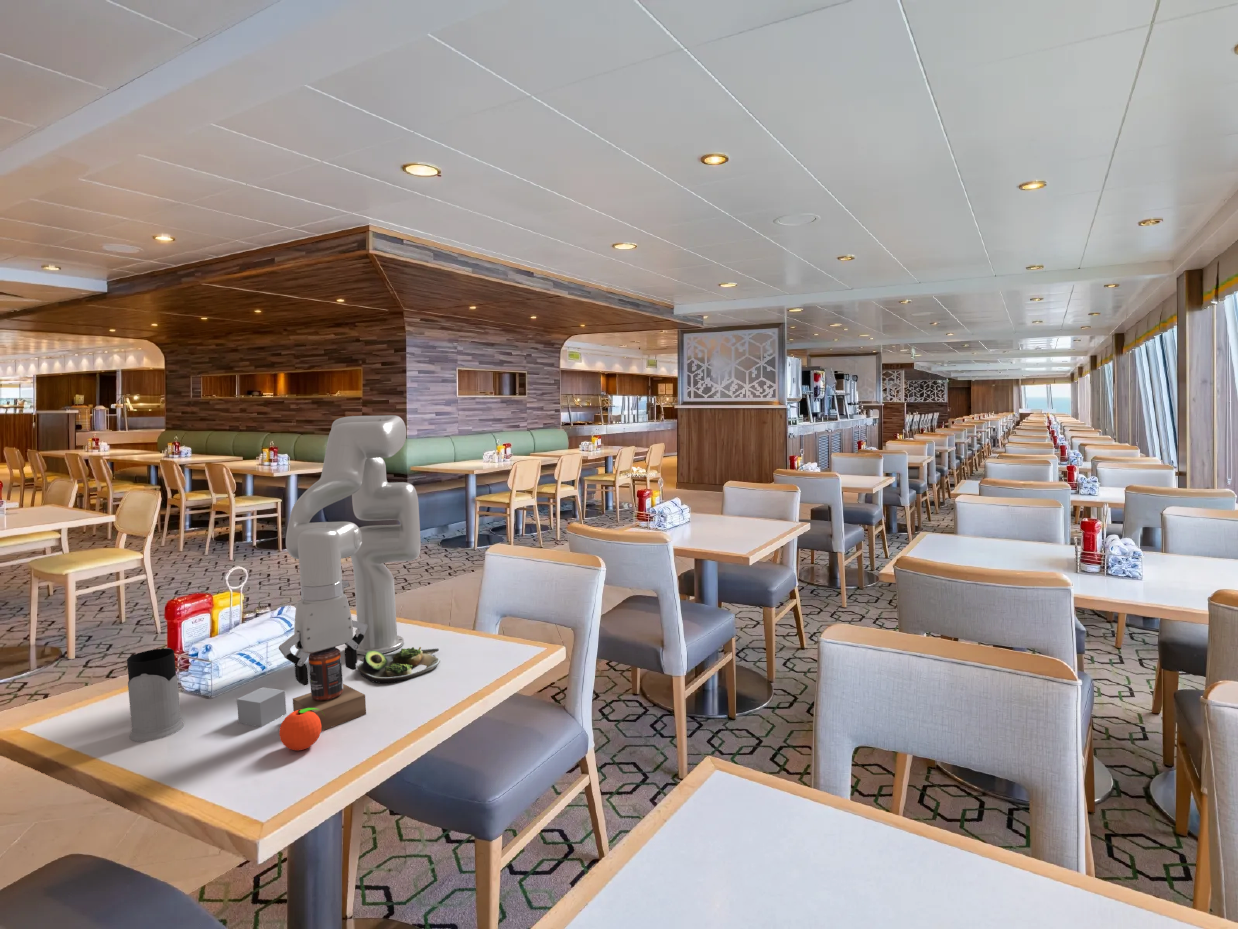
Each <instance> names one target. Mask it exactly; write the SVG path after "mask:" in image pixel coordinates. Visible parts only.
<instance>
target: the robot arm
mask: <svg viewBox="0 0 1238 929" xmlns="http://www.w3.org/2000/svg"><path fill="white" fill-rule="evenodd" d="M327 438H328V439H327V444H326V449H325V452H324V453H325V454H324V460H323V465H322V469H321V475H320V477H319V479H318V480H317V481H316V482H314V483H313V484H312V485H311V486H310V487H309V488H307V489H306V490H305V491H304V492H303V493H302V495H300V497H299V498H298V499H297V500H296V502H294V504H293V506H292V508H291V510H290V516H289V520H288V524H287V529H286V534H285V547H286V551H287V553H288V554H289V556H290V557H291V558H293V559H296V560H298V564H299V566H298V568H299V582H300V597H301V599H300V600H297V602H296V607H295V612H294V613H295V614H294V627H293V628H294V629H293V632H294V633H293V635H292V636H290V637H289V638H288V639H286V640H285V641H283V642H282V643H280V645H279V646H278V650H279V651H280V652H281V654H282V655H283V657H284V658H285V659H286V660H288V661H290V662H291V663H293V664H294V674H295V680H296V681H297V682H298V683H299V684H300V685H302V686H308V684H309V671H308V670H309V669H308V665H307V664H306V661H307V660H308V659H309V655H310V653H315V652H319V651H322V650H326V649H330V648H333V647H336V648H337V647H339V646H342V645H345V646H346V647H345V648H344V665H345V666H344V667H345V668H347V669H349V670H351V671H355V670H357V664H358V655H363V656H365V654H366V653H367V652H368V651H378V652H380V653H382V654H386V653H390V652H393V651H396V650H398V649H401V647H402V646H403V645H404V644H405V642H404V641H405V640H404V638H403V637H402V636H401V635H398V630H397V629H398V627H397V613H396V612H397V609H396V592H395V579H394V576H393V573H392V572H391V570H390V569H389V568H388V567H387V566H386V563H402V562H412V561H414V560H416V559H417V558H418V557H419V555H420V552H421V546H422V545H421V544H422V543H421V542H422V541H421V524H420V523H421V522H420V504H419V497H418V493H417V490H416V488H415V486H414V485H413V484H411V483H409V482H404V481H402V482H398V481H396V482H388V480H387V479H388V478H387V466H386V462H385V460H384V458H385V459H387V458H391V457H393V456H395V455H396V454H397V453H398V452H399V451H400V450H401V449H402V448H403V446H405V443H406V439H407V427H406V423H405V422H404V420H403V418H401V417H400V416H399V415H395V414H394V415H392V414H391V415H351V416H345V417H344V416H343V417H340V418H337V419H335V420H334V421H333V422H332V424H331V430H330V431H329V434H328V437H327ZM348 497H351V501H352V510H353V514H354V516H355V517H356V519H358V520H360V521H369V522H370V521H373V522H374V521H393V520H394V521H398V522H399V524H388V525H387V524H383V525H382V524H380V525H365V526H361V527H359V526H358V525H357V524H356V523H354V522H351V521H320V522H319V521H318V522H311V520H312V518H313V517H314V516H315V515H316V514H317V513H318V512H319V511H321V510H322V509H324V508H326V507H328V506H330V505H332V504H334V503H336V502H339V501H342V500H343V499H346V498H348ZM346 558H350V560H351V564H352V570H353V578H354V594H355V595H354V596H355V610H356V620H353V618H352V613H351V608H350V604H349V600H348V597H347V594H346V593H344V592H345V590H344V589H345V588H348V587H349V586H350V585H349V580H344V579H343V575H342V574H343V573H342V572H343V571H342V559H346ZM354 628H355V634H354ZM292 647H294V648H295V649H296V650H297V651H296V652H295V654H293V652H292V651H291V649H292Z"/></svg>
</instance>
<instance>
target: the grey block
mask: <svg viewBox="0 0 1238 929" xmlns="http://www.w3.org/2000/svg"><path fill="white" fill-rule="evenodd" d="M286 703H287V702H286V691H285V690H284V689H283V690H282V689H276V688H272V687H271V688H269V687H263V686H262V687H260V688H257V689H255V690H254V691H251V692H249V693H246V694H245V695H243V696H240V697H238V698H237V699H236V704H237V706H236V707H237V717H238V718H237V719H238V720H237V722H238V724H242V725H248V726H253V727H259V728H262V727H265V726H266V725H268V724H270V723H272V722H275V721H276V720H278V719H280V718H281V716H282V715H283V716H286V715H287V704H286ZM283 716H282V717H283ZM275 719H276V720H275Z"/></svg>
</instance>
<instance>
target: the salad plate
mask: <svg viewBox="0 0 1238 929" xmlns="http://www.w3.org/2000/svg"><path fill="white" fill-rule="evenodd" d="M439 650H440V648H437V647H436V648H428V649H427V648H426V649H422V647H421V646H419V647H418V649H416V648H415V647H414V646H413V647H411V648H410V647H408V648H400V650H398V651H395V652H391V653H388V654H384V653H380V652H378V651H368V652H367V653H366V654H365V655H363V657H361V658H360V659H359V661H360V663H359V664H358V666H357V670H358V671H359V673H360V675H361V676H362V677H364V679H367V680H368V681H369V682H372V683H376V684H394V683H399V682H403V681H407V680H410V679H412V678H414V677H418V676H421V675H424V674H426V673H427V672H430V671H432V670H434V669H435V668H436V667H438V666H439V664H440V663H441V659H440V658H439V657H436V656H433V654H435V653H436V652H439ZM418 666H426V667H425V668H424V669H421V670H419V671H415V672H412V669H413V668H415V667H418Z"/></svg>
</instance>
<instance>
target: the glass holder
mask: <svg viewBox="0 0 1238 929" xmlns="http://www.w3.org/2000/svg"><path fill="white" fill-rule="evenodd" d="M126 663H127V666H126V667H127V673H128V674H127V675H128V682H127V688H128V689H127V690H128V700H129V710H130V713H129V714H130V723H131V732H130V734H129V739H130V740H131V741H133V742H149V741H151V742H152V741H156V740H159V739H163V738H166V737H169V736H171V735H174V734H176V733H177V732H179V731H180V730H182V729H183V727H185V722H184V721H183V719H182V717H181V706H180V693H179V683H178V681H179V679H178V674H177V671H176V656H175V650H174V649H172V648H170V647H164V648H154V649H149V650H144V651H141V652H138V653H135V654H132V655H130V656H129V657H127V659H126Z"/></svg>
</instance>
